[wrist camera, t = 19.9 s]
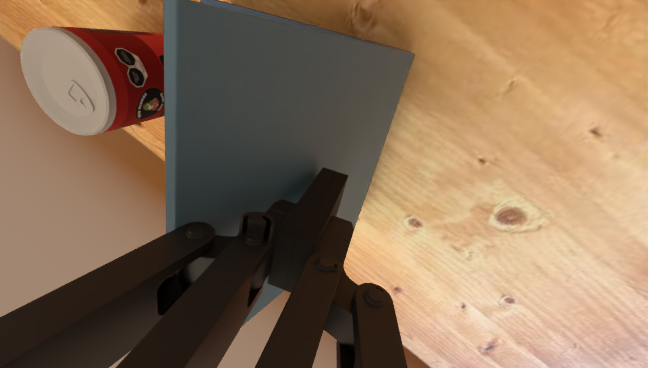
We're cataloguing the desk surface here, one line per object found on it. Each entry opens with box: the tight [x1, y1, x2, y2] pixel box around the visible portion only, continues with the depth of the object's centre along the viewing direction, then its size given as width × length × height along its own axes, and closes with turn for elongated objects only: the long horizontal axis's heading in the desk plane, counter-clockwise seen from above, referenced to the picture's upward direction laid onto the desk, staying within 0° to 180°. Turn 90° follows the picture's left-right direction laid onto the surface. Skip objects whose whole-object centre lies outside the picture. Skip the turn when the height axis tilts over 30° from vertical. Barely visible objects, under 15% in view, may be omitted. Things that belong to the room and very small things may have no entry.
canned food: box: [21, 26, 165, 135], centre depth 27 cm, size 8×8×11 cm
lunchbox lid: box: [163, 0, 415, 326], centre depth 18 cm, size 18×16×1 cm
